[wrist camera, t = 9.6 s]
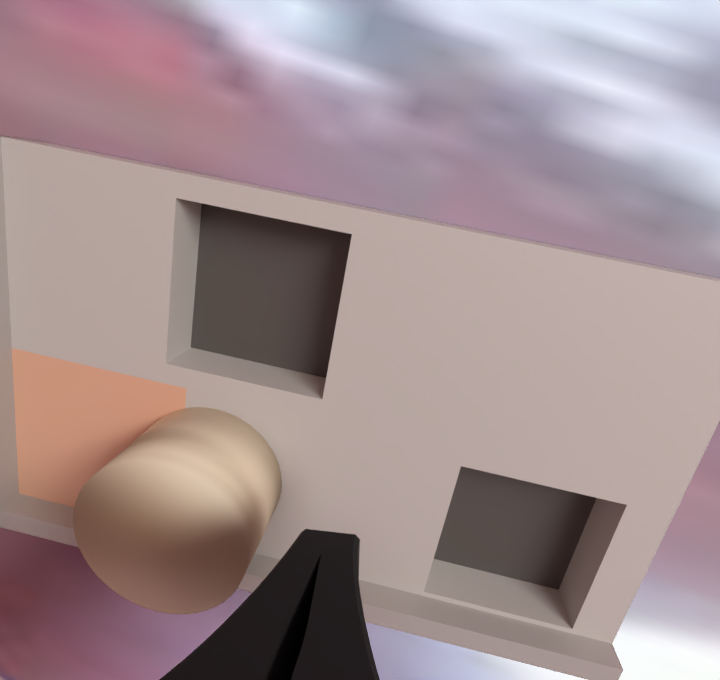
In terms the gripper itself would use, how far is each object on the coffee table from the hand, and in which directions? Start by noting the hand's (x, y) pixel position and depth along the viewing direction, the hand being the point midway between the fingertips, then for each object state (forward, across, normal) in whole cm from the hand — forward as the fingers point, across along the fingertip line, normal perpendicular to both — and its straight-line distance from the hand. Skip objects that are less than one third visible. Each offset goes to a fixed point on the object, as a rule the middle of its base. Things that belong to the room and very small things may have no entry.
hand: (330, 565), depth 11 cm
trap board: (+7, +1, -1) cm, 7 cm away
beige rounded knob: (+5, +5, +1) cm, 8 cm away
